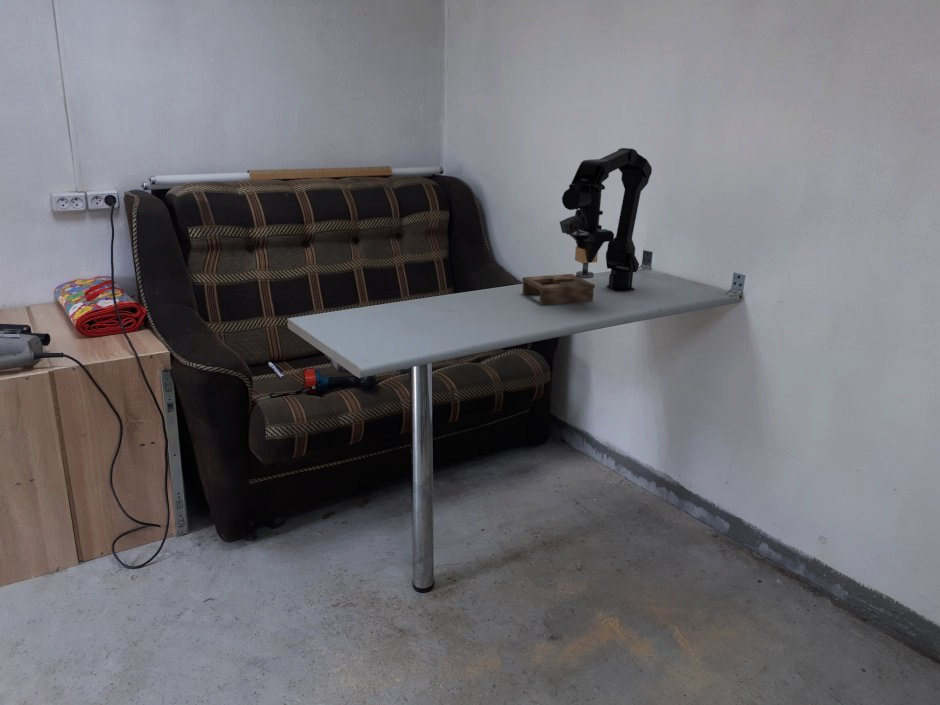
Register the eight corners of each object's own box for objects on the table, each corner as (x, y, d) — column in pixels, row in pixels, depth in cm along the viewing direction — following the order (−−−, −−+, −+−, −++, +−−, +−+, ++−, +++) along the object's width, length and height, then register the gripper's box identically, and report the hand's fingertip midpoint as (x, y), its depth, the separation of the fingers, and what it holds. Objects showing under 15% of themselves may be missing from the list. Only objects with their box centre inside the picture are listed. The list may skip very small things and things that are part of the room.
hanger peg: (587, 273, 212) (589, 245, 209) (596, 277, 208) (598, 248, 205) (572, 275, 210) (574, 246, 207) (581, 278, 206) (583, 249, 203)
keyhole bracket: (571, 289, 225) (572, 273, 223) (593, 301, 212) (594, 284, 211) (521, 293, 219) (522, 277, 217) (541, 305, 207) (542, 288, 205)
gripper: (549, 203, 208) (546, 256, 213) (581, 212, 191) (577, 269, 196) (582, 201, 212) (578, 254, 217) (617, 211, 195) (612, 267, 200)
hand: (585, 261), depth 207 cm, fingers closed on hanger peg, 4 cm apart
